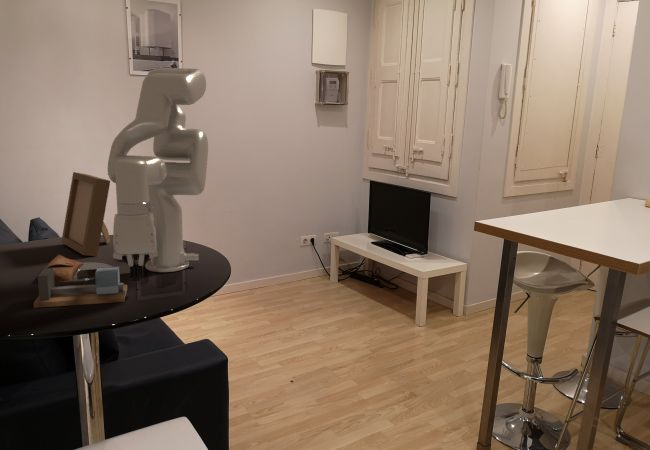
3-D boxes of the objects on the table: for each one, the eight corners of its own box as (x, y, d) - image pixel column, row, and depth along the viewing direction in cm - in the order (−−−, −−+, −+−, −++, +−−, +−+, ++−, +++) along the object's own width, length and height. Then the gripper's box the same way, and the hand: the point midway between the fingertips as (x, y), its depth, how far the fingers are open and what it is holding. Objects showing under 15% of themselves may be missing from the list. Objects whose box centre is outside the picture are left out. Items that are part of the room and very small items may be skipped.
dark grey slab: (55, 290, 133) (53, 267, 132) (49, 299, 127) (46, 276, 125) (46, 291, 133) (44, 268, 131) (39, 300, 126) (37, 276, 125)
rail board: (127, 288, 139) (126, 277, 139) (124, 301, 130) (123, 290, 129) (43, 293, 134) (42, 282, 133) (34, 307, 125) (32, 295, 124)
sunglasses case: (74, 280, 145) (58, 261, 143) (50, 294, 144) (35, 275, 142) (84, 263, 162) (71, 245, 160) (63, 275, 161) (50, 257, 159)
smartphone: (133, 268, 159) (78, 272, 153) (133, 265, 159) (78, 270, 153) (135, 275, 152) (78, 280, 146) (135, 272, 152) (77, 277, 146)
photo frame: (83, 258, 167) (77, 179, 162) (61, 244, 183) (55, 172, 178) (129, 250, 177) (125, 176, 172) (104, 238, 193) (100, 170, 188)
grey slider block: (120, 286, 136) (118, 266, 135) (118, 293, 132) (117, 272, 130) (99, 287, 135) (98, 267, 134) (96, 294, 130) (95, 273, 129)
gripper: (165, 205, 137) (167, 273, 140) (102, 207, 132) (107, 277, 136) (164, 211, 130) (167, 282, 133) (99, 212, 125) (103, 286, 129)
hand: (137, 279), depth 135 cm, fingers closed
